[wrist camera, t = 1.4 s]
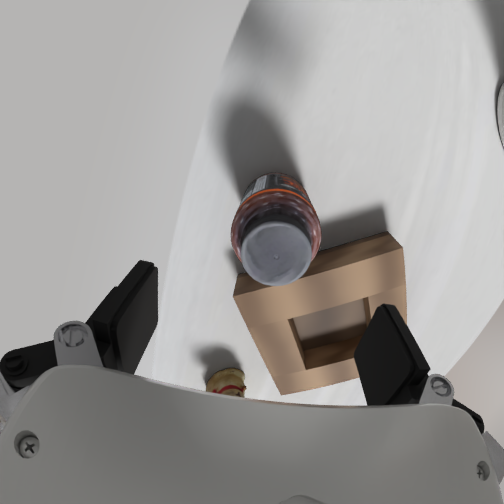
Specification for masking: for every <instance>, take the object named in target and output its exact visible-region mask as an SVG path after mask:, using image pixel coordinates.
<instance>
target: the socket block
mask: <svg viewBox="0 0 504 504" xmlns="http://www.w3.org/2000/svg"><path fill="white" fill-rule="evenodd" d="M233 298H234V300H235V302H236V304H237V306H238V308H239V311H240V313H241V315H242V317H243V319H244V321H245V323H246V325H247V327H248V329H249V332H250V334H251V336H252V338H253V340H254V342H255V344H256V346H257V348H258V350H259V352H260V354H261V356H262V358H263V360H264V362H265V364H266V366H267V368H268V370H269V372H270V374H271V376H272V378H273V380H274V382H275V384H276V386H277V388H278V390H279V392H280V394H281V395H286V394H291V393H296V392H301V391H306V390H311V389H316V388H320V387H324V386H328V385H333V384H337V383H340V382H344V381H348V380H352V379H355V378H359V373H358V370H357V367H356V363H355V360H354V351H355V349H356V347H357V346H358V344H359V342H360V340H361V338H362V336H363V334H364V332H365V330H366V328H367V326H368V325H369V323H370V321H371V319H372V316H373V314H374V312H375V310H376V308H377V307H378V306H380V305H382V304H383V303H384V304H391V305H395V306H396V308H397V309H398V311H399V313H400V314H401V316H402V318H403V320H404V321H405V323H406V325H407V303H406V280H405V265H404V254H403V247H402V246H401V245H400V244H399V243H398V242H397V241H396V240H395V239H394V238H393V237H392V235H391V234H390V233H389V232H388V231H386V232H383V233H380V234H377V235H373V236H370V237H367V238H363V239H360V240H357V241H353V242H350V243H347V244H343V245H340V246H336V247H333V248H330V249H326V250H323V251H319V252H317V254H316V256H315V257H314V259H313V260H312V261H311V263H310V265H309V267H308V269H307V271H306V272H305V273H304V274H303V275H302V276H301V277H300V278H299V279H298V280H296V281H294V282H292V283H290V284H287V285H283V286H270V285H264V284H262V283H260V282H258V281H256V280H254V279H253V278H252V277H251V276H250V275H249V274H248V273H247V272H246V273H242V274H238V276H237V280H236V285H235V289H234V294H233Z"/></svg>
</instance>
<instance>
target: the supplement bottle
mask: <svg viewBox="0 0 504 504" xmlns="http://www.w3.org/2000/svg"><path fill="white" fill-rule="evenodd" d="M231 242H232V246H233V249H234V252H235V254H236V256H237V257H238V259H239V260H240V261H241V262H242V264H243V267H244V269H245V270H246V272H247V273H248V274H249V275H250V276H251V277H252V278H253V279H254V280H256V281H258V282H260V283H262V284H264V285H270V286H283V285H287V284H290V283H292V282H294V281H296V280H298V279H299V278H300V277H301V276H302V275H303V274H304V273H305V272H306V271H307V269H308V267H309V265H310V263H311V261H312V260H313V259H314V257H315V256H316V254H317V252H318V249H319V246H320V243H321V226H320V222H319V219H318V216H317V214H316V211H315V209H314V207H313V205H312V203H311V201H310V199H309V197H308V195H307V193H306V191H305V189H304V188H303V186H302V185H301V184H300V183H299V182H298V181H297V180H295V179H294V178H292V177H290V176H288V175H286V174H282V173H269V174H266V175H263V176H260V177H259V178H257V179H256V180H254V181H253V182H252V183H251V184H250V186H249V187H248V189H247V190H246V192H245V194H244V196H243V199H242V201H241V203H240V206H239V208H238V210H237V212H236V215H235V217H234V220H233V223H232V227H231Z"/></svg>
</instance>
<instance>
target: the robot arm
mask: <svg viewBox="0 0 504 504" xmlns="http://www.w3.org/2000/svg"><path fill="white" fill-rule="evenodd" d="M497 115H498V125H499V132H500V136H501V140H502V143H503V146H504V83H503V84H502V86H501V89H500V92H499V96H498V106H497ZM157 323H158V268H157V267H154V263H152V262H147V261H142V260H140V261H138V263H137V264H136V265H135V266H134V267H133V269H132V270H131V271H130V272H129V274H128V275H127V276H126V277H125V278H124V279H123V281H122V282H121V283H120V284H119V286H118V287H114V288H113V289H112V290H111V291H110V293H109V294H108V295H107V296H106V297H105V299H104V300H103V301H102V302H101V304H100V305H99V306H98V307H97V309H96V310H95V311H94V313H93V314H92V315H91V316H90V318H89V319H88V320H87V322H86V323H83V322H80V321H70V322H66V323H64V324H62V325H60V326H59V327H58V328H57V329H56V331H55V333H54V340H52V341H48V342H44V343H40V344H36V345H32V346H28V347H24V348H20V349H15V350H12V351H9V352H8V353H6V354H5V355H4V356H3V358H2V359H1V362H0V504H503V500H502V495H501V491H500V487H499V484H500V482H501V481H502V479H503V477H504V449H503V448H502V447H501V446H500V444H499V443H498V442H497V441H496V440H495V439H494V438H493V437H492V436H491V435H490V434H489V433H488V432H487V431H486V432H485V433H484V423H483V420H482V418H481V416H480V415H478V414H476V413H475V412H474V411H472V410H470V409H469V408H467V407H466V406H464V405H463V404H461V403H459V402H458V401H456V400H455V399H453V396H454V388H453V386H452V384H451V382H450V381H449V380H448V379H447V378H445V377H444V376H442V375H440V374H432V375H430V376H428V374H427V373H428V372H429V370H430V367H429V365H428V363H427V361H426V359H425V357H424V355H423V354H422V352H421V350H420V348H419V346H418V344H417V343H416V341H415V339H414V337H413V335H412V334H411V332H410V330H409V328H408V327H407V325H406V323H405V321H404V320H403V318H402V316H401V314H400V313H399V311H398V309H397V308H396V306H395V305H391V304H384V303H383V304H382V305H380V306H378V307H377V308H376V310H375V312H374V314H373V316H372V319H371V321H370V323H369V325H368V326H367V328H366V330H365V332H364V334H363V336H362V338H361V340H360V342H359V344H358V346H357V347H356V349H355V351H354V360H355V363H356V367H357V370H358V373H359V377H360V380H361V384H362V387H363V391H364V394H365V398H366V402H367V405H368V406H335V405H311V404H296V403H284V402H274V401H265V400H257V399H249V398H242V397H235V396H229V395H223V394H217V393H212V392H206V391H201V390H196V389H192V388H187V387H182V386H178V385H174V384H169V383H165V382H161V381H157V380H153V379H148V378H145V377H141V376H137V375H134V373H135V370H136V368H137V366H138V364H139V362H140V360H141V358H142V355H143V353H144V351H145V349H146V347H147V345H148V343H149V341H150V339H151V337H152V335H153V333H154V330H155V328H156V326H157Z"/></svg>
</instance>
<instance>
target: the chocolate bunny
mask: <svg viewBox="0 0 504 504" xmlns="http://www.w3.org/2000/svg"><path fill="white" fill-rule="evenodd" d="M244 379H245V375H244V373H243V372H242V371H240V370H239V369H236V368H228V369H226V370H221V371H218V372H216V373H215V374H214V375H213V376H212V377H211V378H210V379H209V381H208V383H207V386H206V392H212V393H217V394H223V395H229V396H235V397H242V398H245V397H244V393H245V390H246V386H245V385H244Z"/></svg>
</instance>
